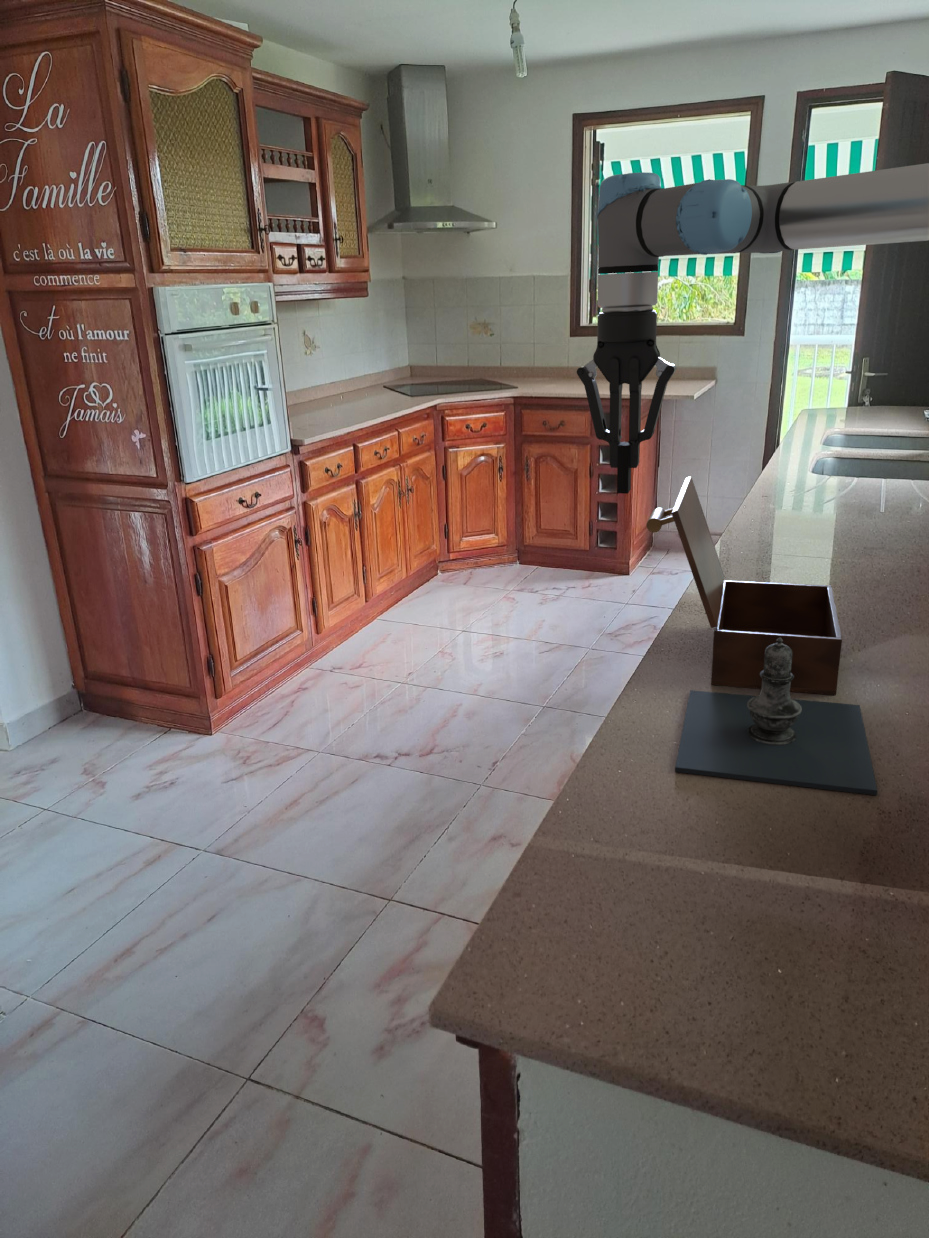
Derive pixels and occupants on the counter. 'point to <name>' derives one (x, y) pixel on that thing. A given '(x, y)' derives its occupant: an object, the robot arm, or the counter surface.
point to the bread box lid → (695, 546)
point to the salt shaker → (774, 699)
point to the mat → (815, 759)
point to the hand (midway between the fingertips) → (623, 491)
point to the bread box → (777, 634)
